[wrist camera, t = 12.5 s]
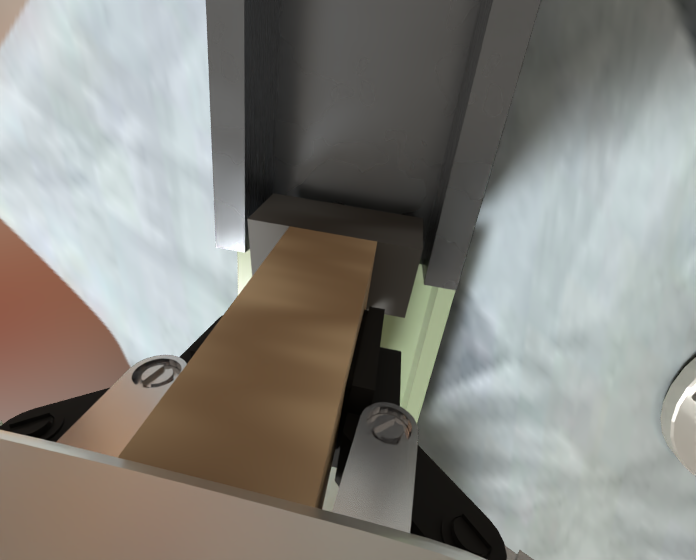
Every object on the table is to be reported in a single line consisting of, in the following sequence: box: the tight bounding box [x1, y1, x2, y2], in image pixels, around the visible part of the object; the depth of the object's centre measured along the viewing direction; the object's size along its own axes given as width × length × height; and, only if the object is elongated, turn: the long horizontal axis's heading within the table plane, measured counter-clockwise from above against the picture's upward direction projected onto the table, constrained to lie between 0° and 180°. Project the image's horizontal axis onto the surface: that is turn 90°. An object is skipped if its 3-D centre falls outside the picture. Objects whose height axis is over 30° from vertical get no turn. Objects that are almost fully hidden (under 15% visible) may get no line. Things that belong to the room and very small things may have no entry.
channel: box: [206, 0, 541, 290], centre depth 13 cm, size 9×14×6 cm
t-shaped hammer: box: [117, 193, 423, 509], centre depth 10 cm, size 6×3×10 cm, turn 82°
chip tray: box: [237, 249, 455, 423], centre depth 20 cm, size 11×14×2 cm
